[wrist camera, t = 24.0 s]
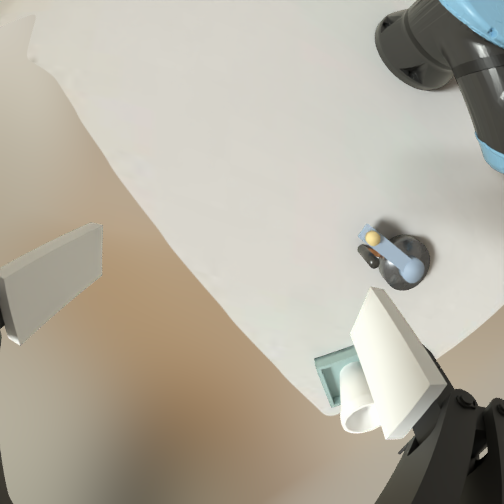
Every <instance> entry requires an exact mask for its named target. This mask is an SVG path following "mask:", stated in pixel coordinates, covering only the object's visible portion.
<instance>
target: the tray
mask: <svg viewBox="0 0 504 504" xmlns="http://www.w3.org/2000/svg"><path fill="white" fill-rule="evenodd" d="M314 360H315V366H316V370H317V372H318V375H319V377H320V380H321V383H322V385H323V388H324V390H325V393H326V395H327V398H328V400H329V403H330V406H331V408H332V407H335V406H339V405H341V400H340V376H339V375H340V371H341V370H342V369H343V367H344V366H346V365H347V364H349V363H351V362H356V361H360V360H359V357H358V355H357V352H356V349H355V346H354V345H353V346H350V347H347V348H345V349H342V350H339V351H336V352H333V353H330V354H327V355H324V356H321V357H318V358H315V359H314Z"/></svg>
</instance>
